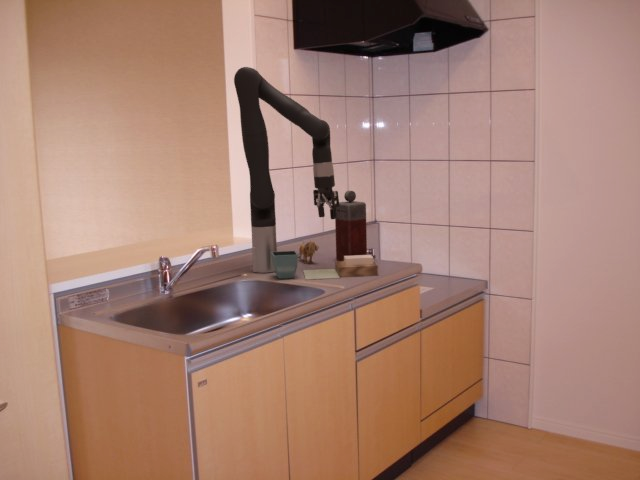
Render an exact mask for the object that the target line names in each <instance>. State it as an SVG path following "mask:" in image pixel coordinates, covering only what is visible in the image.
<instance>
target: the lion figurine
mask: <svg viewBox="0 0 640 480" xmlns="http://www.w3.org/2000/svg"><path fill="white" fill-rule="evenodd" d="M319 249H320V246H318V245H317V244H316V242H315V241H309V242H307V243H306V244H303V243H302V244H300V246H299V250H298V251H299V255H298V262H302V261H303V260H304V264H305V265H308V263H309V264H312V263H314V261H312V260H313V256H314V254H315V253H316V252H318V250H319ZM302 255H303V257H302ZM307 258H309V262H308V259H307ZM302 259H303V260H302Z"/></svg>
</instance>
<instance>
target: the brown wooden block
mask: <svg viewBox="0 0 640 480" xmlns="http://www.w3.org/2000/svg"><path fill="white" fill-rule="evenodd" d="M334 264H335V265H334V266H335V267H334V269H335V270H336V272H337V274H338V276H339V277H340V278H348V277H349V278H350V277H371V276H379V272H378V267H379V266H378V265H377V264H376V262H375V261H374V260H373V264H371V265H349V266H346V265H345V263H344V261H336V260H335V261H334Z"/></svg>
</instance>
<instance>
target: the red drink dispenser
mask: <svg viewBox="0 0 640 480" xmlns="http://www.w3.org/2000/svg"><path fill="white" fill-rule="evenodd" d="M356 198H357V194H356V192H355V191H353V190H347V191H345V192H344V199H345V201H339V207H337V208H336V215H337V218H336V219H334V221H335V222H334V224H335V227H334V228H335V255H336V256H335V259H336V260H335V261H344V256H353V255H368V245H367V243H368V242H367V239H368V238H367V236H368V235H367V204H366V202H364V201H356Z"/></svg>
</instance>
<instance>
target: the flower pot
mask: <svg viewBox="0 0 640 480" xmlns="http://www.w3.org/2000/svg"><path fill="white" fill-rule="evenodd" d="M271 255H272V262H273V267H274V270H275V271H274V273H275V274H276V277H277V278H278V279H280V280H281V279H293V278H294V276H295V275H296V272H297V268H298V262H299V258H298V257H299V254H298V253H297V251H295V250H286V251H284V250H283V251H282V250H281V251H277V252H271Z"/></svg>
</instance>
